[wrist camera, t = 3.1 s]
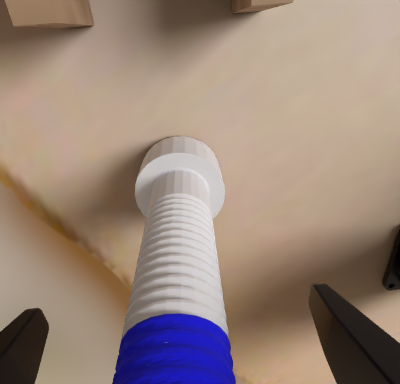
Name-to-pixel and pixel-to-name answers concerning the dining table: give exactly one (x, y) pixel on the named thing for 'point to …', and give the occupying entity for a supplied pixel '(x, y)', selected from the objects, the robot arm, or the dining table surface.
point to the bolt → (177, 273)
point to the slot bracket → (81, 13)
